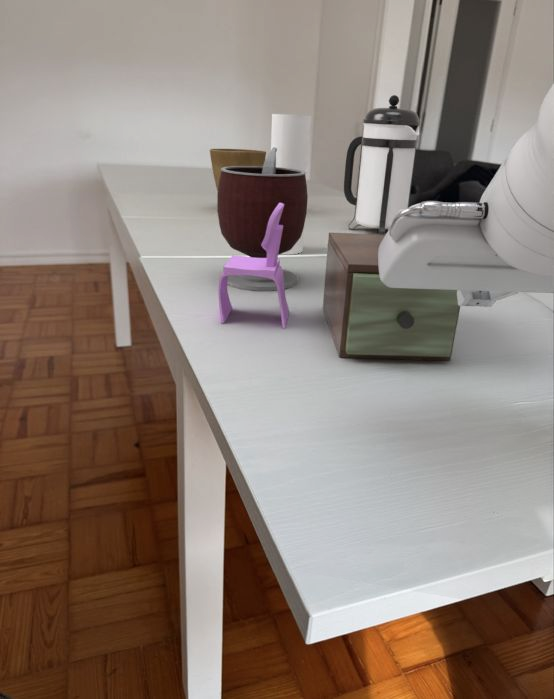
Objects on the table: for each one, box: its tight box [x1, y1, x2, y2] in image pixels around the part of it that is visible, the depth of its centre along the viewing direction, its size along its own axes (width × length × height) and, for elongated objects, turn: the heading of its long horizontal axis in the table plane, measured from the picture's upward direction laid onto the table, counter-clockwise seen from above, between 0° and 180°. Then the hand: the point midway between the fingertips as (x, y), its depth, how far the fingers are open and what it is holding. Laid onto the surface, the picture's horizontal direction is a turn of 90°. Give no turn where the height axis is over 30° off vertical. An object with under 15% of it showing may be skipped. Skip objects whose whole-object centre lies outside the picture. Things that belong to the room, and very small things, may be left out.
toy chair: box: [217, 203, 290, 329], centre depth 70 cm, size 8×9×15 cm
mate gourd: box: [216, 147, 309, 292], centre depth 86 cm, size 16×14×20 cm
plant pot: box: [209, 148, 267, 192], centre depth 147 cm, size 15×15×16 cm
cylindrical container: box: [270, 113, 312, 256], centre depth 105 cm, size 7×7×25 cm
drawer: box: [345, 272, 459, 357], centre depth 66 cm, size 17×12×9 cm
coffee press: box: [343, 94, 422, 235], centre depth 128 cm, size 17×16×30 cm
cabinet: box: [322, 232, 461, 361], centre depth 68 cm, size 17×13×11 cm
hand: (472, 299), depth 51 cm, fingers closed
